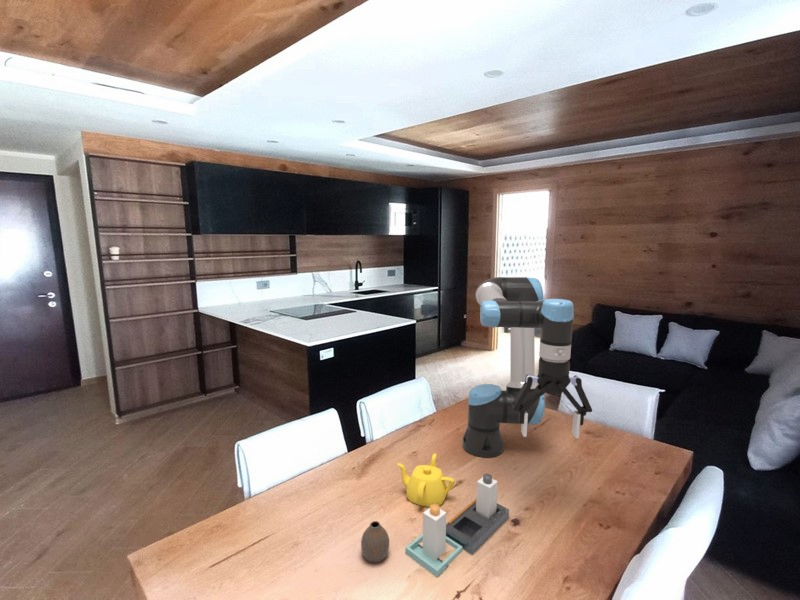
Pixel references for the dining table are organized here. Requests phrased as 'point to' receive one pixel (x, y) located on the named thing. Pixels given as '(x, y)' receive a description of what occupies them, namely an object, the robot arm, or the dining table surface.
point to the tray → (434, 567)
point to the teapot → (426, 484)
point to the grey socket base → (474, 527)
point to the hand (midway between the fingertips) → (549, 435)
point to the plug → (434, 532)
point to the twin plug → (486, 496)
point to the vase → (375, 542)
